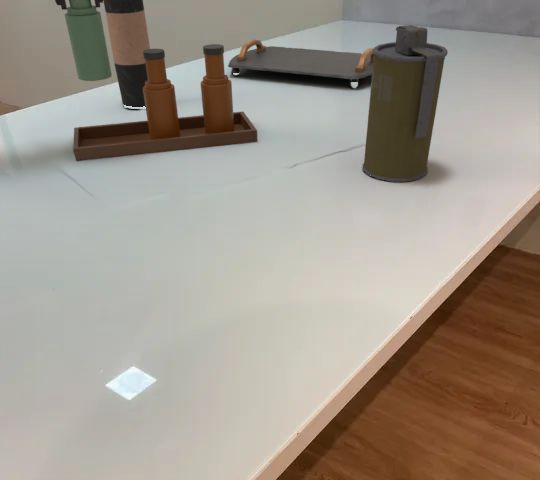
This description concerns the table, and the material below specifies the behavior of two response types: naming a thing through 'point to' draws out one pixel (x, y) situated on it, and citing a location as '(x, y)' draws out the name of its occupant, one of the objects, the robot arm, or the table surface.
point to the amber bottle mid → (159, 97)
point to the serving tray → (304, 61)
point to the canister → (403, 105)
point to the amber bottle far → (216, 92)
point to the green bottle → (87, 41)
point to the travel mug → (128, 47)
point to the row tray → (138, 139)
